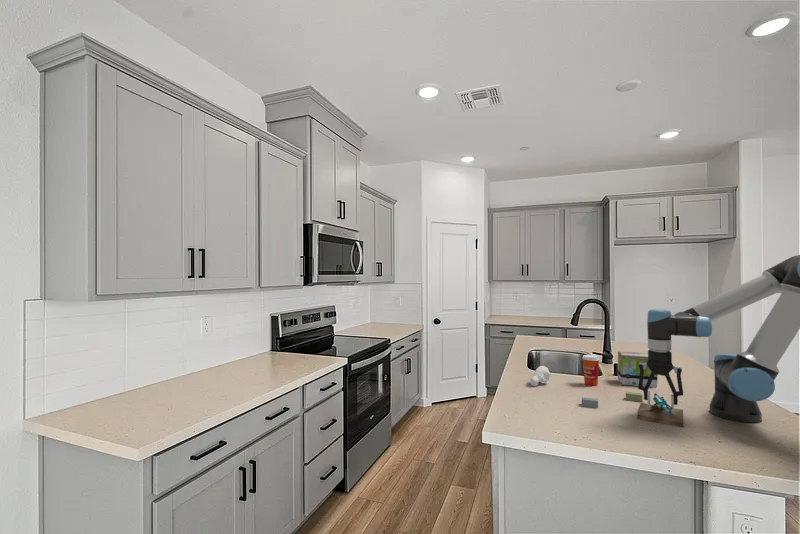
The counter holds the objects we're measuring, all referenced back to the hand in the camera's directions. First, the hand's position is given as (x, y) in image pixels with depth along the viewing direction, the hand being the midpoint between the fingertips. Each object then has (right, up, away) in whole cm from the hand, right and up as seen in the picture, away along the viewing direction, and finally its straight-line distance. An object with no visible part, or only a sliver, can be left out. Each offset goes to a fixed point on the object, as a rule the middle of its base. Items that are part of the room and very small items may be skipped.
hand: (660, 410), depth 148 cm
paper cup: (-6, -3, +41) cm, 42 cm away
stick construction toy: (-1, -1, +1) cm, 1 cm away
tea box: (+17, -3, +43) cm, 46 cm away
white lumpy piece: (-31, -3, +42) cm, 53 cm away
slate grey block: (-21, -3, +12) cm, 24 cm away
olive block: (+1, -3, +19) cm, 19 cm away
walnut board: (0, -2, 0) cm, 2 cm away
